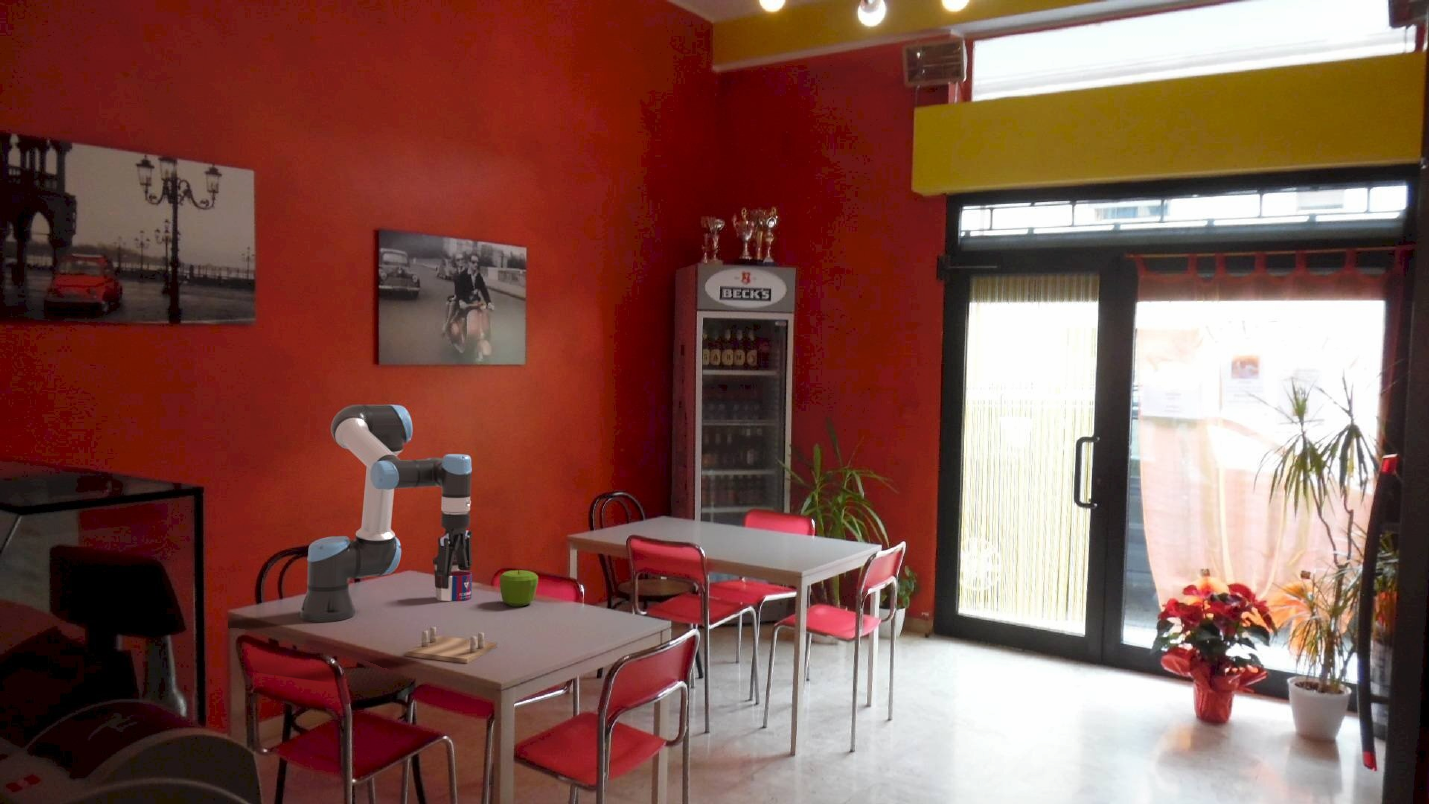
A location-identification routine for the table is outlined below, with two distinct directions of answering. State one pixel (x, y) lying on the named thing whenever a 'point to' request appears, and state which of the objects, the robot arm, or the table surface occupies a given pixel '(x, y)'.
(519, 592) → the apple
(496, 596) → the table surface
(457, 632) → the table surface
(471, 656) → the wooden peg board
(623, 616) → the table surface
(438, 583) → the coffee cup
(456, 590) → the cup
